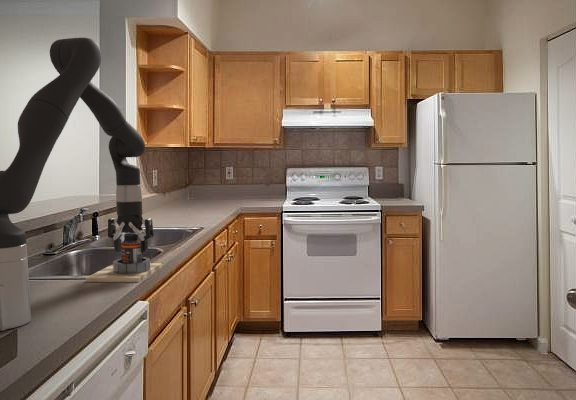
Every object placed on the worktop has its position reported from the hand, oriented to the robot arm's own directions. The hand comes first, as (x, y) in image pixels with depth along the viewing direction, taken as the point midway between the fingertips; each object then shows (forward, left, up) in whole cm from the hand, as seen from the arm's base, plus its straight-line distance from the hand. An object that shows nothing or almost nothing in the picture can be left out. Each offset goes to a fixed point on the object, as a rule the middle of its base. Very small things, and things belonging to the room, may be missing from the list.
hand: (131, 252), depth 155 cm
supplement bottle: (0, 0, -6) cm, 6 cm away
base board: (0, +2, -7) cm, 7 cm away
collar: (0, 0, -6) cm, 6 cm away
